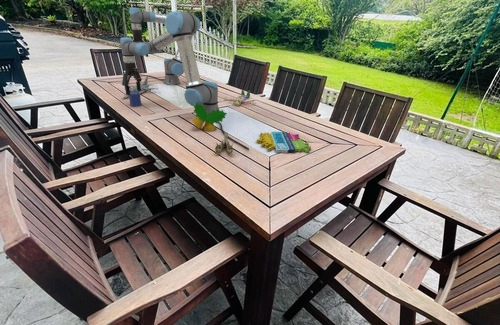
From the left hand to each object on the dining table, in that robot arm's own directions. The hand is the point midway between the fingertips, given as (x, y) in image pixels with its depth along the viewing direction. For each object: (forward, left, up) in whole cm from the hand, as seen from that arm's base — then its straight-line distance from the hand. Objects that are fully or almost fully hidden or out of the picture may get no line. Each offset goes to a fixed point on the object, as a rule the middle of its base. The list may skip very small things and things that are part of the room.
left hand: (140, 57), depth 224 cm
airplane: (+9, -11, -27) cm, 31 cm away
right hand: (+36, -33, -18) cm, 52 cm away
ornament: (+107, -29, -27) cm, 114 cm away
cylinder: (+36, -33, -27) cm, 56 cm away
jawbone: (+134, -47, -27) cm, 145 cm away
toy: (+85, +33, -27) cm, 95 cm away
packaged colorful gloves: (+152, -16, -27) cm, 155 cm away
